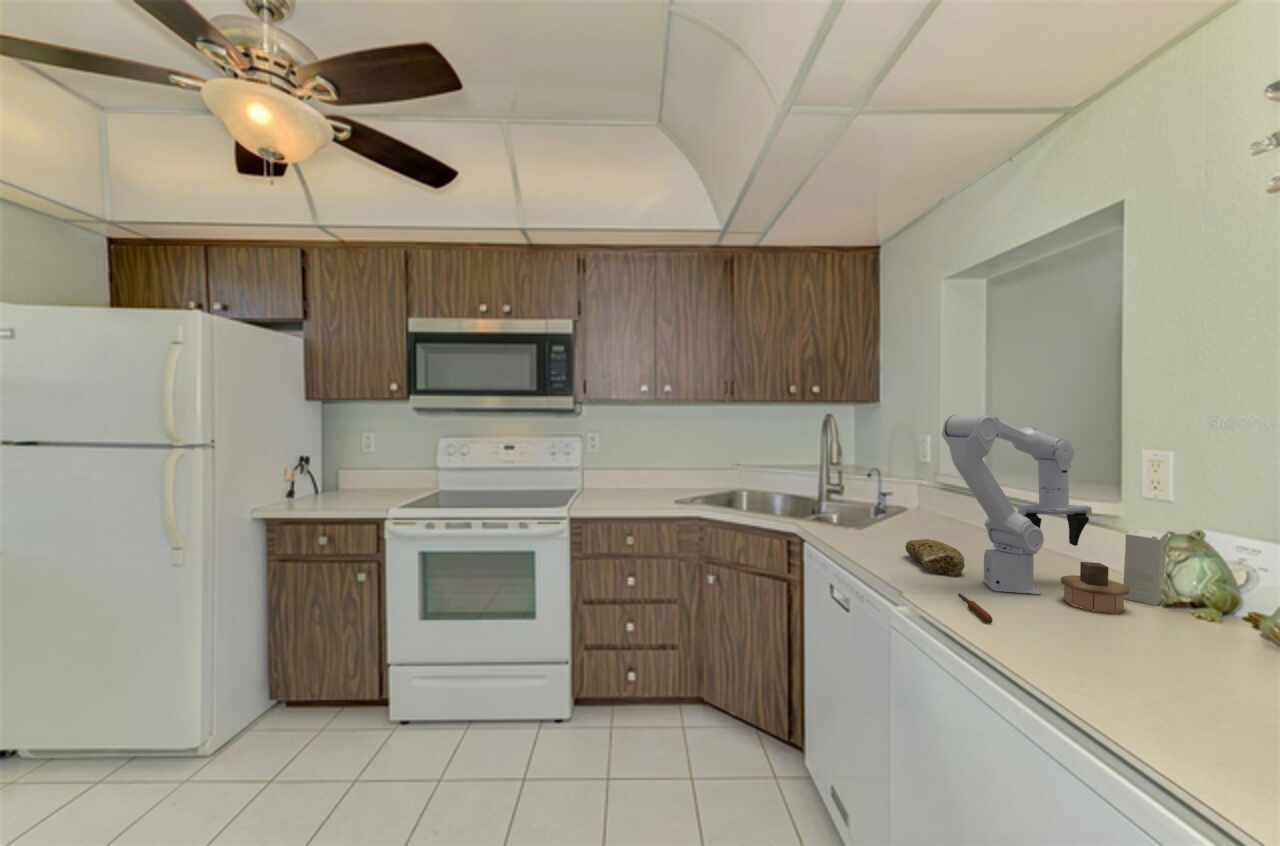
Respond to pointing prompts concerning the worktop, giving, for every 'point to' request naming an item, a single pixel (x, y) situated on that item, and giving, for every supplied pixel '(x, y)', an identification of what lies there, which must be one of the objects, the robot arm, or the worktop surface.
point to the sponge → (936, 556)
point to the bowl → (1094, 600)
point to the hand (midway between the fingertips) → (1054, 544)
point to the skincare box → (1144, 565)
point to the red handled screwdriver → (977, 610)
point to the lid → (1094, 580)
